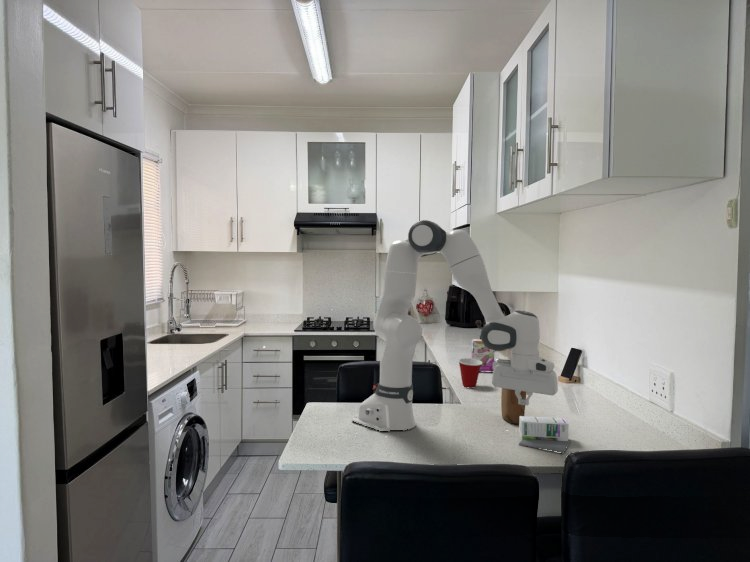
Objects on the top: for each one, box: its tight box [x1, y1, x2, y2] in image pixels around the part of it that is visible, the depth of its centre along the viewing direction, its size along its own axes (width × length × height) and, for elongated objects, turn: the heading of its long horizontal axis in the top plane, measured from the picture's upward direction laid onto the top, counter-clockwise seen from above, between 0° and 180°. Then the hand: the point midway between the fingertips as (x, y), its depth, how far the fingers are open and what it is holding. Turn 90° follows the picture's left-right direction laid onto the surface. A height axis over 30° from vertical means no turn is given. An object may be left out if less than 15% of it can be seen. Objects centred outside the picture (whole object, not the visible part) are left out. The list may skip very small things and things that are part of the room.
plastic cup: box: [458, 357, 482, 388], centre depth 222 cm, size 11×11×12 cm
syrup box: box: [518, 415, 569, 441], centre depth 158 cm, size 6×6×14 cm
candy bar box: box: [470, 338, 495, 371], centre depth 253 cm, size 11×5×16 cm, turn 89°
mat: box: [518, 438, 572, 453], centre depth 154 cm, size 13×12×1 cm
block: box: [500, 388, 527, 425], centre depth 176 cm, size 11×8×20 cm
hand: (523, 404), depth 157 cm, fingers closed
